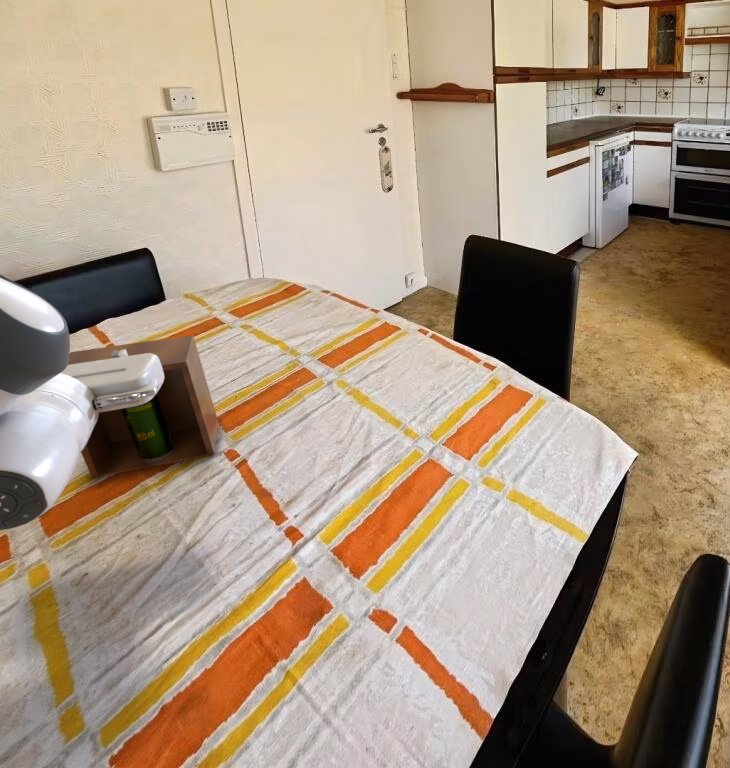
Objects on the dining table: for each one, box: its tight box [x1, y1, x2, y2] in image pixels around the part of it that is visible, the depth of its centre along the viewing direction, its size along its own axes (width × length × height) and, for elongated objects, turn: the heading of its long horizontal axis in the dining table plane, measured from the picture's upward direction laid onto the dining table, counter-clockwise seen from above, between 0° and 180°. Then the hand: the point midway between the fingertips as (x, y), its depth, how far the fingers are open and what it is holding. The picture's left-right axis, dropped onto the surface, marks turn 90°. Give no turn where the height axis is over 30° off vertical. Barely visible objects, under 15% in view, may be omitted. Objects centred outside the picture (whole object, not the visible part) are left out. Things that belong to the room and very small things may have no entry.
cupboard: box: [68, 334, 219, 479], centre depth 102 cm, size 18×11×18 cm, turn 109°
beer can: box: [121, 393, 174, 462], centre depth 101 cm, size 5×5×12 cm
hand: (79, 361), depth 78 cm, fingers open, 8 cm apart
